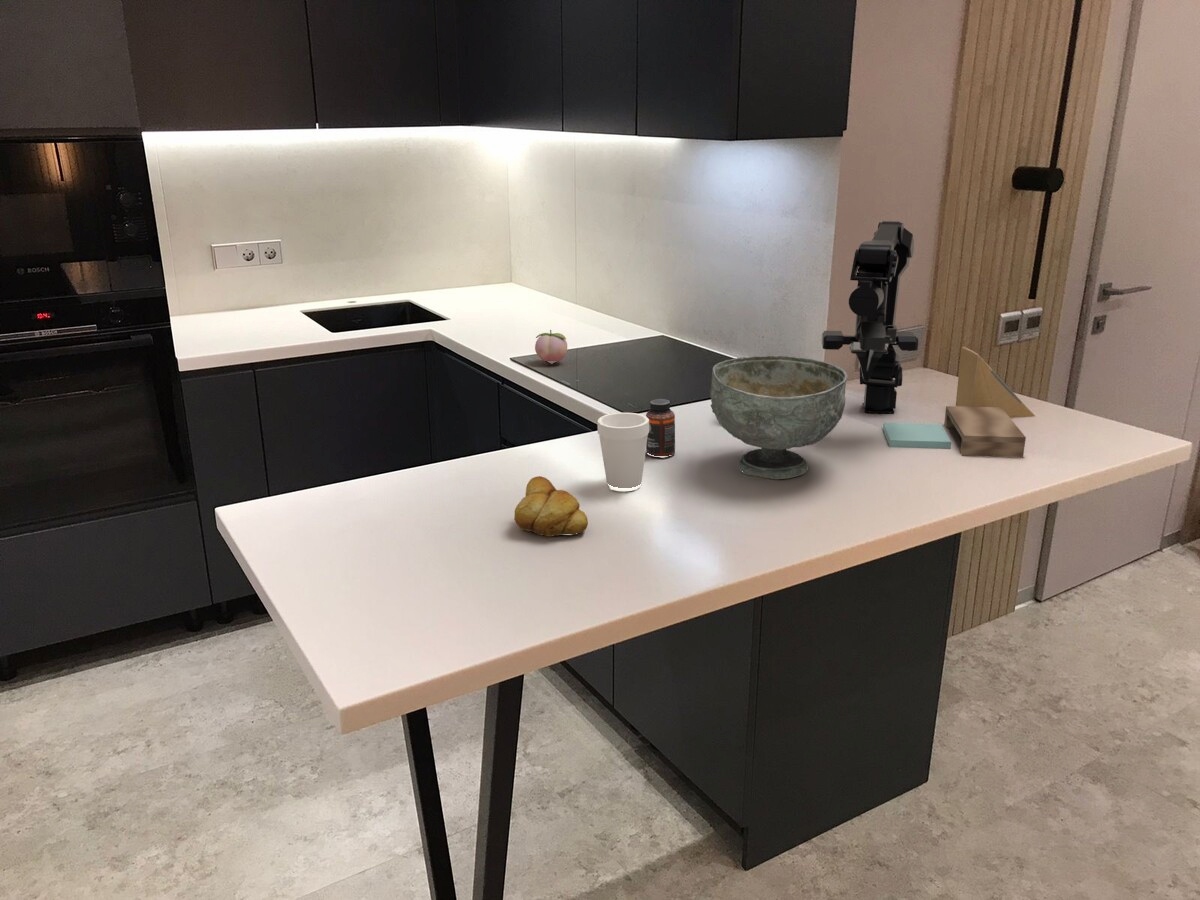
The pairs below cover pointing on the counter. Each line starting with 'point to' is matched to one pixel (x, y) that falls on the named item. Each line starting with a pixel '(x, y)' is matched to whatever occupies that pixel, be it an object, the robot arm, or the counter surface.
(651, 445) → the supplement bottle
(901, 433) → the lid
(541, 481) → the bread roll
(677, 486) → the counter surface
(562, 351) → the decorative fruit
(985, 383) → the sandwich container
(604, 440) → the foam cup
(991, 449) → the low shelf
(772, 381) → the decorative bowl
